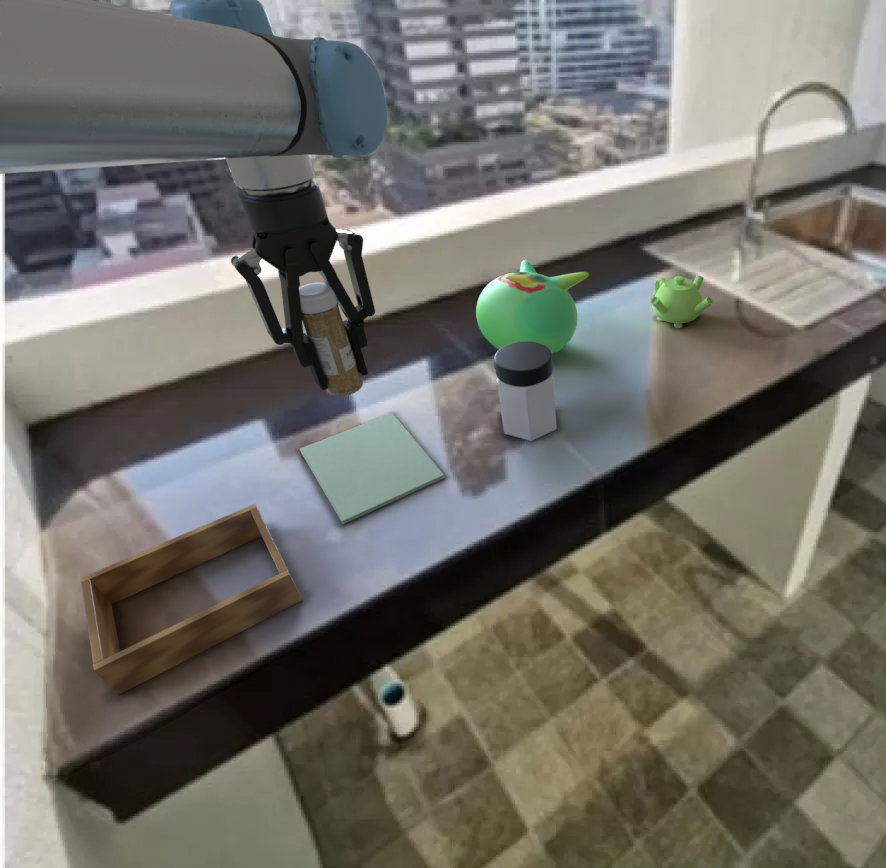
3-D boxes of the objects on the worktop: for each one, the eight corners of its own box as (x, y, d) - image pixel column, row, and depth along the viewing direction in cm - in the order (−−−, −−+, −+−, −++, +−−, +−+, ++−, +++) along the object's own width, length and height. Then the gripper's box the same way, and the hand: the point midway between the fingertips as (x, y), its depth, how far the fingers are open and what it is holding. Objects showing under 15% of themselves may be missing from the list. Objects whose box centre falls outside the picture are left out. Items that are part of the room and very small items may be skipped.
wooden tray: (118, 695, 59) (93, 670, 56) (102, 603, 67) (80, 577, 64) (302, 600, 67) (289, 574, 64) (268, 528, 75) (255, 503, 73)
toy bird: (463, 352, 108) (449, 275, 99) (527, 316, 119) (520, 243, 109) (538, 386, 100) (531, 304, 90) (600, 344, 110) (599, 267, 101)
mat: (444, 477, 82) (444, 474, 82) (343, 524, 76) (341, 521, 75) (392, 415, 94) (392, 412, 93) (300, 451, 87) (299, 448, 87)
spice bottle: (370, 387, 77) (340, 289, 68) (336, 402, 74) (300, 302, 66) (353, 373, 79) (323, 277, 71) (320, 387, 77) (284, 289, 68)
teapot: (645, 305, 122) (647, 265, 116) (702, 304, 122) (706, 264, 116) (649, 332, 113) (651, 291, 108) (710, 332, 113) (715, 290, 108)
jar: (540, 400, 96) (534, 333, 89) (569, 425, 91) (565, 357, 84) (490, 421, 92) (480, 353, 85) (518, 448, 87) (509, 379, 80)
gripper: (348, 160, 67) (395, 343, 82) (174, 192, 59) (260, 389, 74) (374, 175, 63) (419, 366, 78) (189, 212, 55) (278, 418, 69)
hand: (341, 377), depth 76 cm, fingers closed on spice bottle, 4 cm apart
